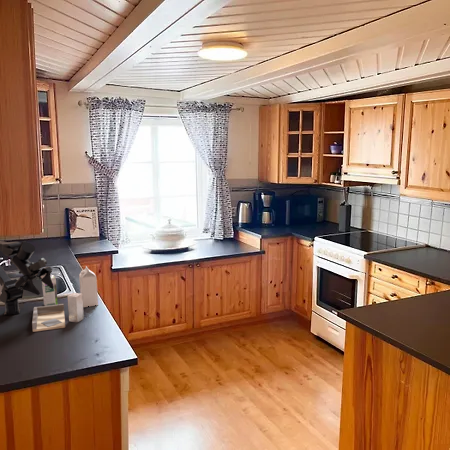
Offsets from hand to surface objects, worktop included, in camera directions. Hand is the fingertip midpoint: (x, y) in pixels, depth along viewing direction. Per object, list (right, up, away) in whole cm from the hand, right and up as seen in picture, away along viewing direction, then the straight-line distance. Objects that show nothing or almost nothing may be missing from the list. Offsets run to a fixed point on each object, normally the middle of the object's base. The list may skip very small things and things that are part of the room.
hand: (46, 291), depth 204 cm
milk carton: (+13, -10, +22) cm, 27 cm away
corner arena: (+1, -14, +1) cm, 14 cm away
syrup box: (-6, -10, +21) cm, 25 cm away
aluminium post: (+13, -13, +2) cm, 19 cm away
